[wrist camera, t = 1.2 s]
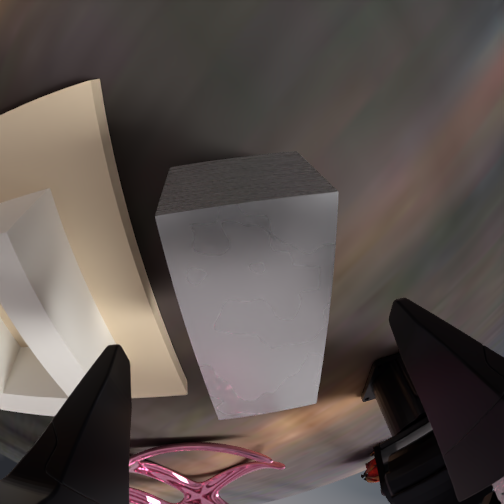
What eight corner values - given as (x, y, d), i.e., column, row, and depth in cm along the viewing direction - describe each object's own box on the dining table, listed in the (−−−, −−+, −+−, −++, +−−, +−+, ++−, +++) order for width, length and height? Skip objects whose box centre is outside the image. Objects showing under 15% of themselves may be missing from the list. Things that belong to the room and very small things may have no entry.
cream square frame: (187, 381, 21) (189, 443, 17) (20, 384, 20) (6, 432, 16) (99, 78, 10) (44, 87, 6) (-95, 175, 9) (-143, 212, 5)
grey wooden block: (279, 290, 18) (316, 403, 12) (209, 300, 18) (219, 420, 11) (271, 128, 13) (338, 191, 7) (179, 140, 13) (154, 215, 6)
